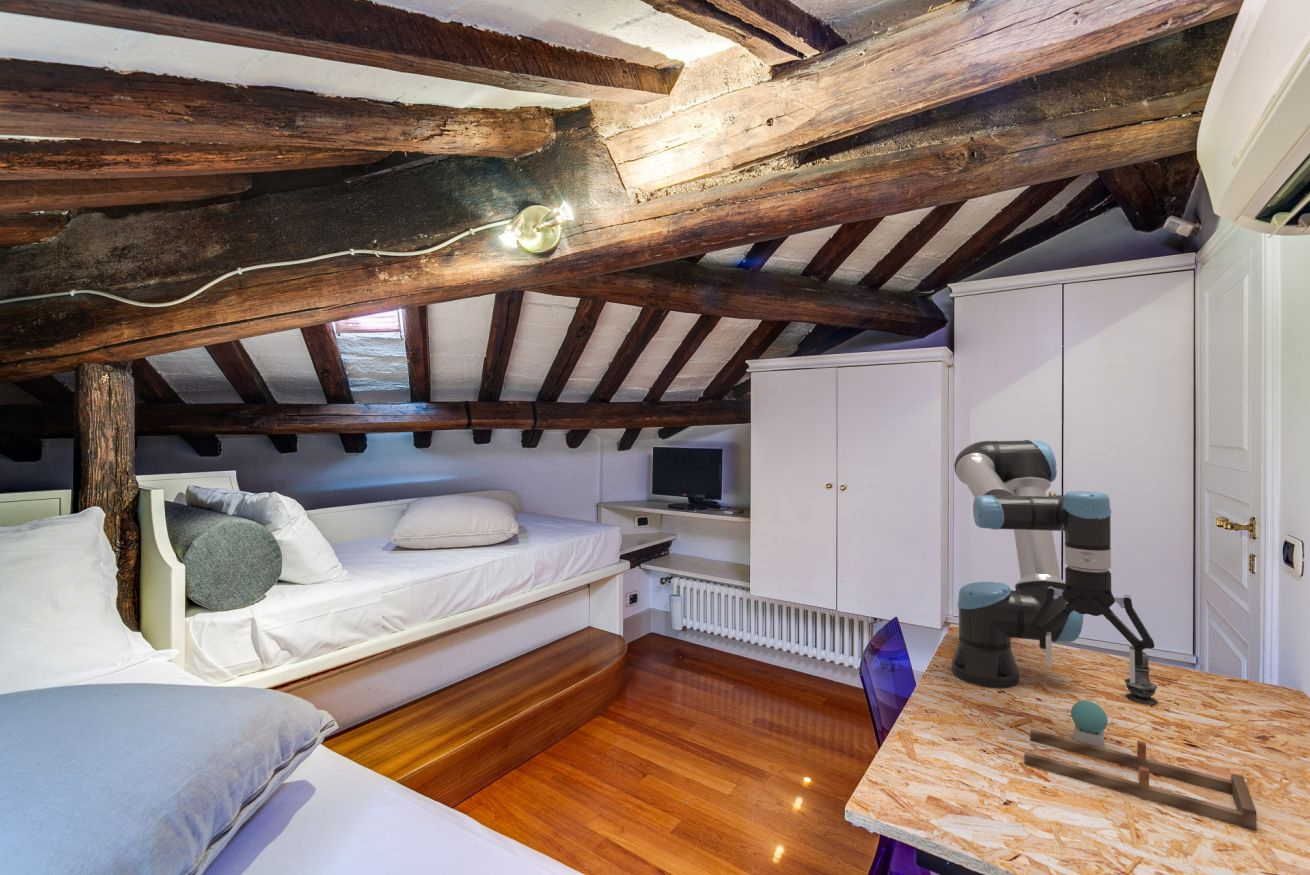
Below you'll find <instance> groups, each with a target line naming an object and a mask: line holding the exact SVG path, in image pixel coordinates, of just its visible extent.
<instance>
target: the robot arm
mask: <svg viewBox="0 0 1310 875" xmlns="http://www.w3.org/2000/svg"><path fill="white" fill-rule="evenodd" d="M954 473H955V475H956V477H957V478H958V480H959V481H960V482H961V483H963V484H965V485H966V486H967V487H968V489H969V491H970V492H971V495H972V496H973V497H974V499H973V503H972V516H973V519H974V523H975V525H976V526H977V527H978V528H981V529H990V530H993V531H994V530H1013V532H1014V539H1015V540H1014V542H1015V545H1016V546H1015V547H1016V553H1017V561H1018V568H1019V576H1020V579H1019V580H1018V581H1017V582H1016V583H1015V585H1014V588H1015V590H1012V589H1011V587H1010V586H1009V585H1008V584H1006V583H1003V582H995V581H978V582H977V581H976V582H970V583H968V584H966V585H963V586H962V587H960V589H959V591H958V599H957V600H958V601H957V607H958V643H957V647H956V649H955V651H954V655H953V657H952V660H951V671H952V672H951V673H952V674H954V676H956V677H958V678H959V679H961V680H963V681H965V682H968V683H970V684H974V685H977V686H982V687H986V688H996V689H997V688H999V689H1000V688H1001V689H1002V688H1010V687H1014V686H1017V685H1018V684H1019V683H1020V670H1019V668H1018V665H1017V662H1016V659H1015V657H1014V653H1013V652H1012V639H1020V640H1021V639H1022V640H1035V641H1036V640H1037V641H1039V647H1040V649H1042V650H1045V664H1046V665H1045V666H1046V667H1049V668H1051V667H1052V642H1053V643H1057V642H1059V643H1060V642H1064V643H1072V642H1074V641H1076V640H1077V639H1078V638H1079V637H1080V635H1081V632H1082V629H1083V624H1084V615H1091V616H1093V617H1098V616H1103V617H1104V618H1106V620H1107V621H1109V622H1110V624H1112V626H1113V627H1114V628H1115V629H1117V631H1118V632H1119V633H1120V634H1121V635H1122V636H1123V637H1124V638H1125V639H1126V640H1127V641H1128V642H1129V643H1130V645H1128V646H1129V647H1128V648H1129V650H1128V651H1129V678H1130V683H1135V665H1138V666H1141V665H1142V652H1144V650H1145V649H1154V648H1155V642H1154V639H1153V638H1152V637H1151V635H1150V633H1149V631H1148V630H1147V627H1145V625H1144V623H1143V622H1142V620H1141V618H1140V617H1139V615H1138V614H1137V612H1136V610H1135V609H1134V607H1133V601H1132V597H1131V596H1130V595H1129V594H1126V595H1123V596H1121V595H1120V596H1117V595H1113V593H1112V573H1111V571H1109V570H1110V569H1111V568H1112V549H1111V541H1112V540H1111V533H1112V532H1111V514H1112V508H1111V503H1110V500H1111V499H1110V497H1109V495H1108V494H1107V493H1104V492H1100V491H1099V492H1097V491H1086V490H1084V491H1083V490H1078V491H1077V490H1075V491H1074V490H1073V491H1067V492H1065V494H1057V495H1053V496H1051V495H1049V496H1047V493H1046V492H1047V491H1048V490H1049V489H1050V488H1051V486H1052V484H1051V483H1053V482H1054V481H1055V480H1056V478H1057V473H1058V472H1057V460H1056V456H1055V453H1054V452H1053V449H1052V448H1051V446H1050V445H1048V443H1046V442H1045V441H1041V440H1030V439H1024V440H984V441H983V440H982V441H978V442H974V443H972V444H970V445H968V446H966V447H965V448H964V449H962V450H961V451H960V452H959V453H958V455H957V456H956V458H955V460H954ZM1055 531H1056V532H1057V531H1058V532H1064V564H1065V565H1067V566H1066V567H1065V568H1064V580H1065V581H1064V580H1063V579H1062V578H1061V573H1060V568H1059V564H1058V556H1057V552H1056V546H1055V540H1054V535H1053V534H1054V532H1055ZM1114 603H1116V604H1118V605H1119V607H1120V608H1121V609H1125V613H1126V614H1127V616H1128V618H1129V620H1130V621H1131V623H1132V624H1133V626H1134V627H1135V629H1136V631H1137V633H1138V634H1139V636H1140V637H1141V639H1142V640H1141V639H1139V638H1138V637H1137V636H1136V635H1135V634H1134V633H1133V632H1132V631H1131V630H1130V629H1129V628H1128V627H1127V626H1126V625H1125V623H1124V622H1123V621H1122V620H1121V619H1120V618H1119V617H1118V616H1117V615H1116V614H1115V613H1114V611H1113V610H1112V609H1111V607H1112V605H1114Z"/></svg>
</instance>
